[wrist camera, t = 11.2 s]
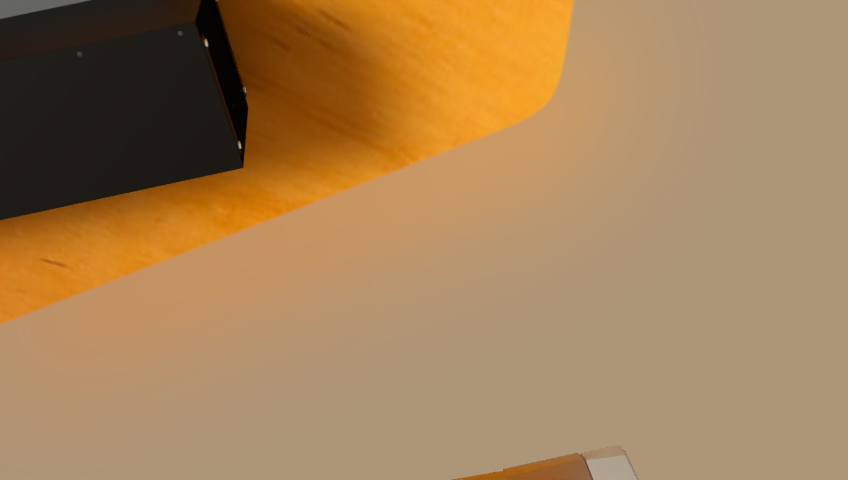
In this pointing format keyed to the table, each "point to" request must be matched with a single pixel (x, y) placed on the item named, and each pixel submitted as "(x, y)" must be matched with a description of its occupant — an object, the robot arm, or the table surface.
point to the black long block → (115, 101)
